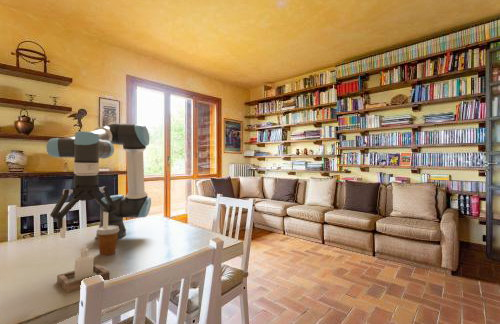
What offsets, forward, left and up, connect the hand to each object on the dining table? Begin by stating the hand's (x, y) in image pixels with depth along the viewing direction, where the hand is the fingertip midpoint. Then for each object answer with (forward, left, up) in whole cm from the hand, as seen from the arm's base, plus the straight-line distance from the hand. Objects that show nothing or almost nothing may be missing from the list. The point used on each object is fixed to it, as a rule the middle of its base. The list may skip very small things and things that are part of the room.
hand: (85, 232), depth 91 cm
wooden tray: (0, 0, -17) cm, 17 cm away
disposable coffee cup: (-22, +17, -17) cm, 33 cm away
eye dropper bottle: (0, 0, -17) cm, 17 cm away
